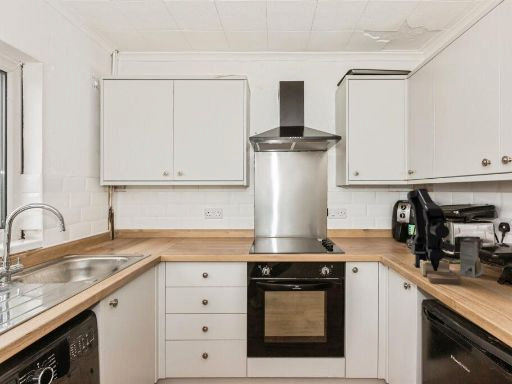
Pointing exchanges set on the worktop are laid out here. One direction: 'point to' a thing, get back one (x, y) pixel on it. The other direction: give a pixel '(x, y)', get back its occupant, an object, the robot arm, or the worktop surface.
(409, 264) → the worktop surface
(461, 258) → the grey upright block
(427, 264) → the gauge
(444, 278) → the walnut board
